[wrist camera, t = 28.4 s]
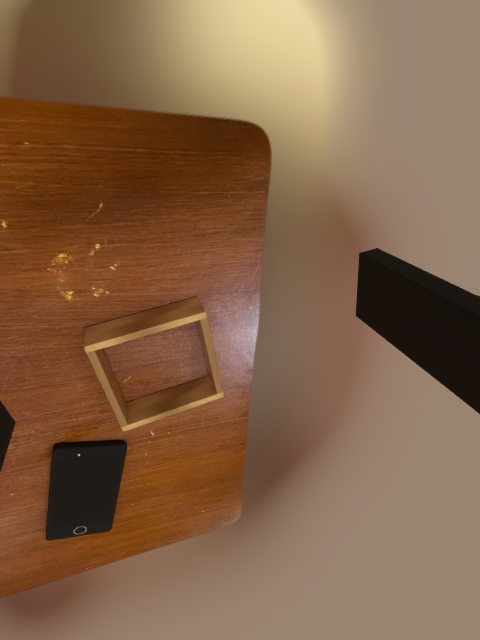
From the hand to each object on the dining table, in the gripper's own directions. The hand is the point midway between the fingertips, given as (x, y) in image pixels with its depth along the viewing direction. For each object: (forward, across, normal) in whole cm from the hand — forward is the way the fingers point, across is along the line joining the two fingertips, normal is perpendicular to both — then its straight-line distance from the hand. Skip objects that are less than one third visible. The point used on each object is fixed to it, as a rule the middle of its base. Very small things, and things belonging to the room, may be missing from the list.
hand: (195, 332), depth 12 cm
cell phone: (+25, -18, -36) cm, 48 cm away
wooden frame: (+25, -3, -18) cm, 31 cm away
